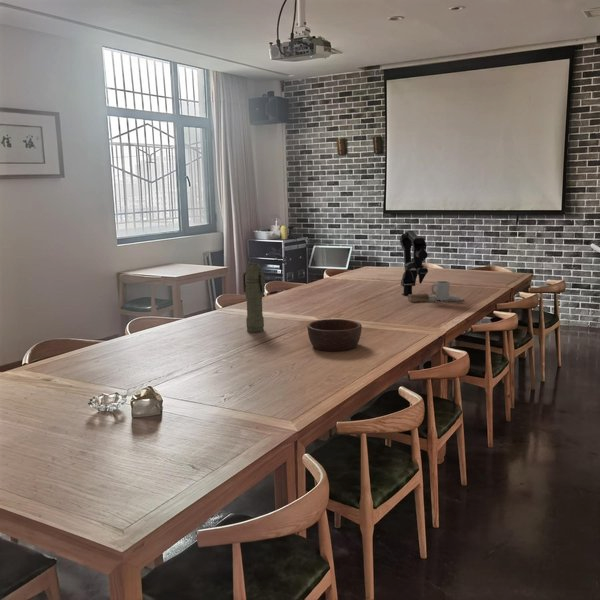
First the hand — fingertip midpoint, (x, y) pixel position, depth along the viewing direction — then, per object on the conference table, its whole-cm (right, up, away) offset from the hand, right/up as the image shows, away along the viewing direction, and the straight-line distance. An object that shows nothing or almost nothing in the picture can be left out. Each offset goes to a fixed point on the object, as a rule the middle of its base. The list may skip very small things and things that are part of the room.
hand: (417, 282), depth 390 cm
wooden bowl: (-58, -33, -103) cm, 123 cm away
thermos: (-97, -27, -70) cm, 123 cm away
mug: (+15, -11, +2) cm, 18 cm away
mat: (+20, -11, +3) cm, 23 cm away
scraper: (+2, -12, 0) cm, 12 cm away
